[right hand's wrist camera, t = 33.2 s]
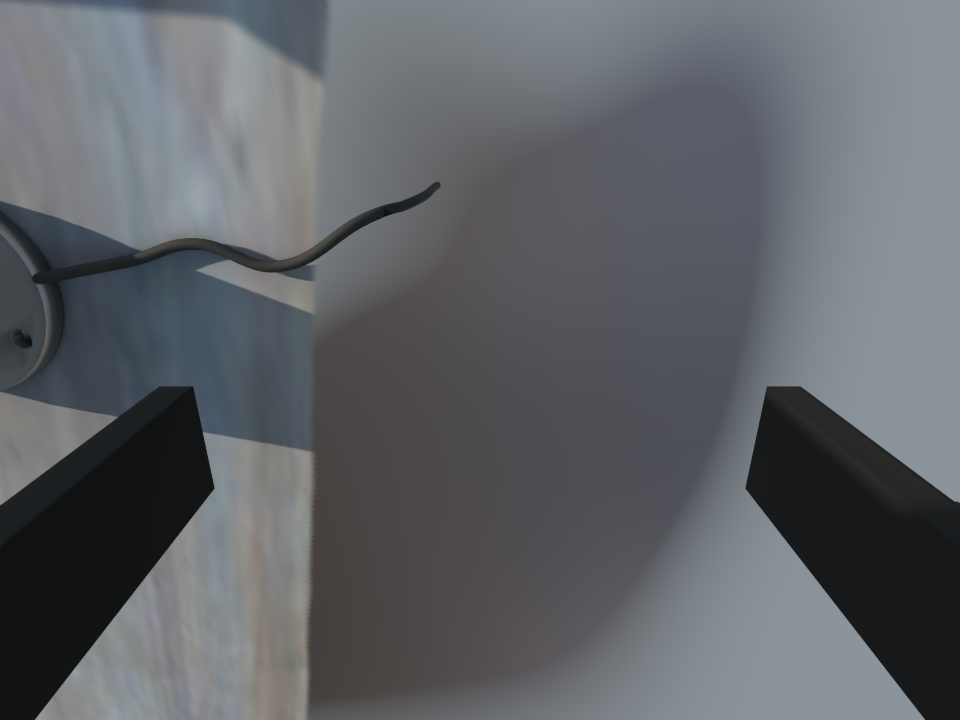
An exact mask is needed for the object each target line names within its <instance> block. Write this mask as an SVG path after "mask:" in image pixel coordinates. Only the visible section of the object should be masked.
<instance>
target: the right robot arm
mask: <svg viewBox="0 0 960 720" xmlns="http://www.w3.org/2000/svg"><path fill="white" fill-rule="evenodd" d="M440 186H441V184H440V183H439V182H435V183H433V184H432V185H430V186H429V187H428V188H427V189H426V190H424V191H423V192H421V193H419V194H417V195H415V196H412V197H410V198H408V199H405V200H403V201H400V202H395V203H390V204H386V205H382V206H379V207H377V208H374V209H372V210H369V211H367V212H365V213H363V214H361V215H359V216H357V217H355V218H353V219H352V220H350V221H348V222H347V223H345V224H344V225H342V226H341V227H339V228H338V229H337V230H335V231H334V232H333V233H331V234H330V235H329V236H327V237H326V238H325V239H324V240H322V241H321V242H320V243H318V244H317V245H315V246H314V247H313V248H311V249H309V250H308V251H306V252H304V253H302V254H300V255H298V256H295V257H293V258H289V259H285V260H280V261H262V260H258V259H254V258H251V257H249V256H247V255H244V254H242V253H240V252H238V251H236V250H234V249H232V248H230V247H227V246H225V245H223V244H220V243H217V242H214V241H211V240H206V239H198V238H185V239H177V240H173V241H169V242H165V243H163V244H160V245H157V246H155V247H152V248H150V249H147V250H144V251H142V252H139V253H135V254H132V255H128V256H123V257H119V258H114V259H108V260H103V261H98V262H92V263H87V264H81V265H76V266H71V267H66V268H61V269H56V270H50V269H49V267H48V265H47V263H46V262H45V260H44V258H43V257H42V255H41V254H40V253H39V251H38V250H37V248H36V247H35V246H34V245H33V243H32V242H31V241H30V240H29V239H28V237H27V236H26V235H25V234H24V233H23V232H22V231H21V230H20V229H19V228H18V227H17V226H16V225H14V224H13V223H12V222H11V221H10V220H9V219H8V218H6V217H5V216H4V215H2V214H1V213H0V392H2V391H5V390H7V389H9V388H12V387H14V386H16V385H17V384H19V383H21V382H23V381H25V380H27V379H29V378H31V377H32V376H34V375H36V374H37V373H38V372H40V371H41V370H42V369H43V368H44V367H45V366H46V365H47V364H48V363H49V361H50V360H51V359H52V357H53V356H54V354H55V352H56V350H57V348H58V346H59V343H60V339H61V336H62V329H63V309H62V302H61V297H60V294H59V290H58V287H57V284H56V281H61V280H66V279H71V278H76V277H81V276H86V275H92V274H97V273H102V272H108V271H113V270H118V269H123V268H128V267H132V266H136V265H140V264H143V263H146V262H149V261H152V260H154V259H157V258H160V257H162V256H165V255H168V254H170V253H174V252H178V251H183V250H205V251H210V252H213V253H216V254H219V255H221V256H223V257H226V258H228V259H230V260H232V261H234V262H236V263H238V264H241V265H243V266H245V267H248V268H251V269H254V270H257V271H262V272H283V271H289V270H293V269H297V268H299V267H302V266H305V265H307V264H309V263H311V262H313V261H314V260H316V259H317V258H319V257H320V256H322V255H323V254H325V253H326V252H328V251H329V250H330V249H332V248H333V247H334V246H336V245H337V244H338V243H339V242H341V241H342V240H344V239H345V238H346V237H348V236H349V235H350V234H352V233H353V232H355V231H357V230H358V229H360V228H362V227H364V226H366V225H368V224H369V223H372V222H374V221H376V220H378V219H381V218H383V217H386V216H389V215H392V214H395V213H399V212H403V211H406V210H408V209H411V208H413V207H415V206H417V205H419V204H421V203H422V202H424V201H426V200H427V199H429V198H430V197H431V196H432V195H433V194H434V192H435V191H436V190H438V189H439V188H440ZM213 490H214V484H213V479H212V474H211V469H210V465H209V460H208V455H207V450H206V446H205V441H204V436H203V432H202V427H201V422H200V417H199V413H198V408H197V403H196V398H195V394H194V389H193V387H158V388H157V389H156V390H154V391H153V392H152V393H150V394H149V395H148V396H146V397H145V398H144V399H142V400H141V401H140V402H138V403H137V404H135V405H134V406H133V407H131V408H130V409H129V410H127V411H126V412H125V413H123V414H122V415H121V416H119V417H118V418H117V419H115V420H114V421H113V422H111V423H110V424H109V425H107V426H106V427H105V428H103V429H102V430H101V431H99V432H98V433H97V434H95V435H94V436H93V437H91V438H90V439H89V440H87V441H86V442H85V443H83V444H82V445H81V446H79V447H78V448H77V449H75V450H74V451H73V452H71V453H70V454H69V455H67V456H66V457H65V458H63V459H62V460H61V461H59V462H58V463H57V464H55V465H54V466H53V467H51V468H50V469H49V470H47V471H46V472H45V473H43V474H42V475H41V476H39V477H38V478H37V479H35V480H34V481H33V482H31V483H30V484H29V485H27V486H26V487H25V488H23V489H22V490H21V491H19V492H18V493H17V494H15V495H14V496H13V497H11V498H10V499H9V500H7V501H6V502H5V503H3V504H2V505H0V720H35V719H36V718H37V716H38V715H39V714H40V712H41V711H42V710H43V709H44V707H45V706H46V705H47V703H48V702H49V701H50V699H51V698H52V697H53V696H54V694H55V693H56V692H57V690H58V689H59V688H60V687H61V685H62V684H63V683H64V681H65V680H66V679H67V678H68V676H69V675H70V674H71V672H72V671H73V670H74V669H75V667H76V666H77V665H78V663H79V662H80V661H81V660H82V658H83V657H84V656H85V654H86V653H87V652H88V651H89V649H90V648H91V647H92V645H93V644H94V643H95V642H96V640H97V639H98V638H99V636H100V635H101V634H102V633H103V631H104V630H105V629H106V627H107V626H108V625H109V624H110V622H111V621H112V620H113V618H114V617H115V616H116V615H117V613H118V612H119V611H120V609H121V608H122V607H123V606H124V604H125V603H126V602H127V600H128V599H129V598H130V597H131V595H132V594H133V593H134V591H135V590H136V589H137V588H138V586H139V585H140V584H141V582H142V581H143V580H144V578H145V577H146V576H147V575H148V573H149V572H150V571H151V569H152V568H153V567H154V566H155V564H156V563H157V562H158V560H159V559H160V558H161V557H162V555H163V554H164V553H165V551H166V550H167V549H168V548H169V546H170V545H171V544H172V542H173V541H174V540H175V539H176V537H177V536H178V535H179V533H180V532H181V531H182V530H183V528H184V527H185V526H186V524H187V523H188V522H189V521H190V519H191V518H192V517H193V515H194V514H195V513H196V512H197V510H198V509H199V508H200V506H201V505H202V504H203V503H204V501H205V500H206V499H207V497H208V496H209V495H210V494H211V492H212V491H213ZM746 490H747V491H748V492H749V494H750V495H751V496H752V497H753V499H754V500H755V501H756V503H757V504H758V505H759V506H760V508H761V509H762V510H763V511H764V513H765V514H766V515H767V517H768V518H769V519H770V521H771V522H772V523H773V524H774V526H775V527H776V528H777V530H778V531H779V532H780V533H781V535H782V536H783V537H784V539H785V540H786V541H787V542H788V544H789V545H790V546H791V548H792V549H793V550H794V551H795V553H796V554H797V555H798V557H799V558H800V559H801V560H802V562H803V563H804V564H805V566H806V567H807V568H808V569H809V571H810V572H811V573H812V575H813V576H814V577H815V578H816V580H817V581H818V582H819V584H820V585H821V586H822V588H823V589H824V590H825V591H826V593H827V594H828V595H829V597H830V598H831V599H832V600H833V602H834V603H835V604H836V605H837V607H838V608H839V609H840V611H841V612H842V613H843V615H844V616H845V617H846V618H847V620H848V621H849V622H850V624H851V625H852V626H853V627H854V629H855V630H856V631H857V633H858V634H859V635H860V636H861V638H862V639H863V640H864V642H865V643H866V644H867V645H868V647H869V648H870V649H871V651H872V652H873V653H874V654H875V656H876V657H877V658H878V660H879V661H880V662H881V663H882V665H883V666H884V667H885V669H886V670H887V671H888V672H889V674H890V675H891V676H892V678H893V679H894V680H895V681H896V683H897V684H898V685H899V687H900V688H901V689H902V690H903V692H904V693H905V694H906V696H907V697H908V698H909V699H910V701H911V702H912V703H913V705H914V706H915V707H916V708H917V710H918V711H919V712H920V713H921V715H922V716H923V717H924V719H925V720H960V503H959V502H954V501H953V500H951V499H950V498H949V497H947V496H946V495H945V494H943V493H942V492H941V491H939V490H938V489H937V488H935V487H934V486H933V485H931V484H930V483H929V482H927V481H926V480H925V479H923V478H922V477H921V476H919V475H918V474H917V473H915V472H914V471H913V470H911V469H910V468H909V467H907V466H906V465H905V464H903V463H902V462H901V461H899V460H898V459H897V458H895V457H894V456H893V455H891V454H890V453H889V452H887V451H886V450H885V449H883V448H882V447H881V446H879V445H878V444H877V443H875V442H874V441H873V440H871V439H870V438H868V437H867V436H866V435H865V434H863V433H862V432H861V431H859V430H858V429H857V428H855V427H854V426H853V425H851V424H850V423H849V422H847V421H846V420H845V419H843V418H842V417H841V416H839V415H838V414H836V413H835V412H834V411H832V410H831V409H830V408H829V407H827V406H826V405H824V404H823V403H822V402H820V401H819V400H818V399H816V398H815V397H814V396H812V395H811V394H810V393H808V392H807V391H806V390H804V389H803V388H802V387H767V389H766V394H765V398H764V403H763V408H762V413H761V418H760V422H759V427H758V432H757V436H756V441H755V446H754V450H753V455H752V460H751V465H750V470H749V474H748V479H747V484H746Z"/></svg>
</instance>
